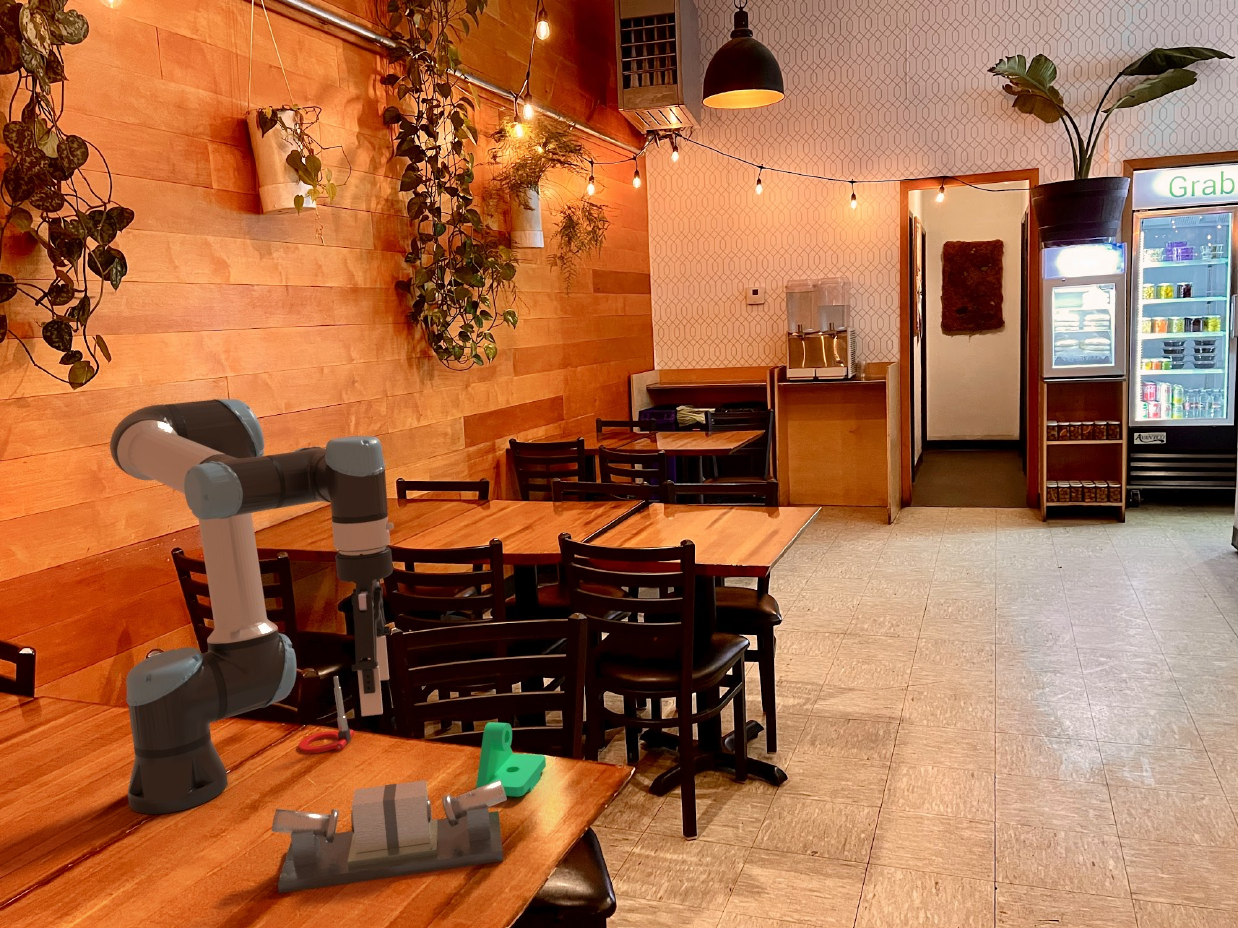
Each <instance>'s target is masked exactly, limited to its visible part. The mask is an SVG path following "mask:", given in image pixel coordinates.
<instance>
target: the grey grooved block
mask: <svg viewBox="0 0 1238 928" xmlns="http://www.w3.org/2000/svg"><path fill="white" fill-rule="evenodd" d="M350 814H351V817H350V818H351V819H350V821H351V831H353V833H355V843H356V853H360V852H368V851H375V850H382V849H393V848H399V847H404V846H411V845H418V844H425V843H430V823H432V820H433V819H432V818H433V816H432V815H433V814H432V802H431V799H430V798H429V797H428V786H427V780H417V781H411V782H401V783H391V784H385V785H379V786H373V787H372V786H371V787H363V788H357V789H354V793H353V797H352V803H351V813H350Z"/></svg>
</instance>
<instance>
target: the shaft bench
mask: <svg viewBox="0 0 1238 928" xmlns="http://www.w3.org/2000/svg"><path fill="white" fill-rule="evenodd" d="M507 797H508V796H506V794H505V790H504V787H503V785H502V782H501V780H497V781H495V782H492V783H490V784H487V785H485V786H482V787H480V788H477V787H476V788H474V789H472V790H470V791H467V792H464V793H462V794H460V795H459V794H458V796H454V797H452V795H451V794H450V793H448V794H446V795H442V797H441V801H442V807H443V810H444V811H443V812H444V813H445V816H446V818H445V817H444V818H434V819H432V823H430V843H425V844H418V845H411V846H404V847H399V848H393V849H382V850H375V851H368V852H360V853H356V843H355V833H353V831H352V830H349V831H343V832H336V830H337V826H338V820H339V814H340V810H339V809H334V808H333V809H331V812H330V814H328V813H326V814H325V813H318V812H309V811H300V810H293V809H292V810H291V809H281V808H276V809H275V812H274V815H273V820H272V825H271V833H272V832H273V833H282V834H289V835H290V839H291V840H290V843H289V847H288V850H287V853H286V856H285V859H284V863H283V866H282V868H281V873H280V875H279V877H278V882H277V886H278V887H277V888H278V893H279V894H285V893H290V892H291V893H292V892H298V891H304V890H310V889H317V888H325V887H331V886H333V887H334V886H340V885H345V884H352V883H353V884H354V883H359V882H366V881H367V882H368V881H374V880H380V879H381V880H382V879H387V878H394V877H401V876H408V875H415V874H416V875H417V874H423V873H428V872H436V871H443V870H451V869H457V868H462V867H464V868H465V867H471V866H477V865H484V864H493V863H499V862H504V853H503V852H504V849H503V843H502V842H503V841H502V832H501V824H500V823H501V821H500V812H499V810H496V811H489V807H492V806H495V805H498V804H501V803H502V802H505V801H507V799H508V798H507Z"/></svg>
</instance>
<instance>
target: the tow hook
mask: <svg viewBox="0 0 1238 928" xmlns="http://www.w3.org/2000/svg"><path fill="white" fill-rule="evenodd" d="M333 684H334V688H333V690H334V696H335V697H334V698H335V703H336V710H337V711H336V712H337V718H336V720H337V727H338V730H336V731H335V730H331V731H330V730H329V731H323V732H318V733H315V734H311V735H309V736H307V737H305V738H303V739H302V740H301V741H300V742H298V750H299V751H300V752H302V753H304V754H317V753H318V754H319V753H324V752H328V751H332V750H336V751H339V752H341V751H342V750H343V749H344V748H345V747H346V746H347V745H348V744H349V742H350V741H351V740H352V738H353V737H354V735H355V731H354V730H353V729H350V727H349V725H348V719H347V716H346V715H345V708H344V703H343V694H342V693H343V692H342V689H341V688H342V687H341V686H340V682H339V676H338V675H334V676H333ZM329 738H330V739H331V738H333V739H336V740H335V741H332V742H329V743H327V744H322V745H317V746H315V745H313V746H312V745H310V744H311V743H313V742H316V741H319V740H323V739H329Z"/></svg>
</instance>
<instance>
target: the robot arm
mask: <svg viewBox="0 0 1238 928" xmlns="http://www.w3.org/2000/svg"><path fill="white" fill-rule="evenodd" d="M116 425H117V426H115V428H114V430H113V431H112V435H111V437H110V440H109V442H110V443H109V450H110V454H111V457H112V460H113V462H114V463H115V465H116V466H117V467H118V468H119V469H120V470H121V471H122V472H124V473H125V474H127V475H129V476H131V477H133V478H135V479H137V480H141V481H157V482H159V483H161V484H163V485H165V486H167V487H168V488H171V489H173V490H175V491H177V492H180V493H182V494H184V497H185V500H186V504H187V506H188V508H189V509H190V511H191V513H192V514H193V516H194V517H195V518H197V519H198V525H199V532H200V538H201V545H202V552H203V558H204V559H203V560H204V565H205V571H206V572H205V573H206V578H207V584H208V585H207V586H208V591H209V598H210V604H211V611H212V618H213V625H214V629H213V631H212V632H211V633H210V635H209V636H208V637H207V639H206V642H207V648H208V649H207V652H203V653H202V652H201V651H200V649H198V648H196V647H191V646H190V647H189V646H187V647H180V648H178V649H174V648H173V649H169V650H165V651H162V652H159V653H155V654H154V655H151V656H149V657H147V658H145V659H142V660H141V661H139V662H138V663H137V664H135V665H134V666H133V667H132V668H131V669H130V670H129V672H128V674H127V675H126V699H125V700H126V703H127V706H128V711H129V719H130V720H129V721H130V727H131V733H132V734H131V735H132V743H133V749H134V750H133V751H134V761H133V767H132V769H131V775H130V779H129V784H128V789H127V799H128V806H129V808H130V809H131V810H133V811H135V812H136V813H140V814H145V815H159V814H160V815H162V814H163V815H164V814H168V813H176V812H181V811H185V810H188V809H191V808H194V807H196V806H199V805H203V804H205V803H206V802H209V801H210V800H213V799H214V798H216V797H217V796H219V795H220V794H222V793H223V792H224V790H225V789H226V788H227V787H228V774H227V768H226V767H225V765H224V762H223V761H222V759H221V757H220V755H219V753H218V751H217V749H216V747H215V745H214V743H213V741H212V736H211V724H212V723H215V722H217V721H220V720H221V721H222V720H224V719H227V718H230V717H234V716H237V715H241V714H243V713H247V712H251V711H253V710H256V709H259V708H261V709H264V708H267V707H268V706H270V705H272V704H275V703H278V702H280V701H282V700H285V699H286V698H287V697H288V696H289V694H291V692H292V689H293V687H294V686H295V682H296V678H297V659H296V658H297V657H296V653H295V649H294V648H292V647H293V643H292V642H291V641H292V640H290V638H289V637H288V636H287V635H286V634H283V633H279V628H278V626H277V625H276V623H274V622H272V620H271V621H270V620H269V619H268V617H267V611H266V610H267V609H266V603H265V595H264V589H263V583H262V576H261V568H260V563H259V561H260V560H259V556H258V549H257V542H256V541H257V540H256V535H255V528H254V521H253V516H252V515H253V513H258V512H259V513H260V512H264V511H270V510H275V509H283V508H289V507H293V506H301V505H305V504H312V503H319V502H325V503H328V504H329V503H330V509H331V528H332V538H333V548H334V549H335V550H336V551H337V553H336V554H335V557H334V558H335V566H336V577H337V579H338V580H340V581H342V582H344V583H345V582H346V583H350V582H351V583H354V584H355V588H353V589H352V592H351V596H350V598H351V599H350V601H351V604H352V607H353V608H352V614H353V615H352V616H353V617H352V618H353V624H354V626H353V627H354V647H355V648H354V651H355V652H354V653H355V655H354V656H355V657H354V658H355V663H354V664H351V671H352V672H355V671H357V676H358V677H357V678H358V689H359V699H360V711H361V717H367V716H375V715H376V716H377V715H383V712H384V711H383V710H384V709H383V700H382V698H383V697H382V690H381V689H382V686H381V681H388V680H389V679H390V675H389V662H388V651H387V638H386V637H387V636H386V635H388V634H390V633H391V628H390V625H387V626H386V623H387V622H386V619H385V613H384V599H383V595H384V594H383V593H384V592H383V591H384V590H383V586H382V585H380V584H381V583H380V580H382V579H385V578H387V577H389V576H390V575H392V574H393V571H394V567H393V566H394V565H393V556H392V549H391V548H390V547H389V546H388V545H389V544H390V543H391V536H390V535H391V534H390V530H394V527H395V525H394V523H393V522H388V521H389V514H388V513H389V512H388V510H389V508H388V507H389V506H388V494H387V481H386V480H387V478H386V461H385V460H384V455H383V447H382V446H383V445H382V442H381V441H380V439H379V438H378V437H375V436H373V435H372V436H371V435H370V436H369V435H362V436H361V435H358V436H344V437H336V438H332V439H330V440H329V441H327V443H326V446H325V447H320V446H310V447H301V448H298V449H295V450H294V451H291V452H284V453H276V454H270V455H269V454H268V455H264V449H265V440H264V433H263V429H262V426H261V424H260V422H259V420H258V417H257V416H256V414H255V412H254V411H253V409H251V407H250V406H249V405H248V404H247V403H246V402H244V401H243V400H240V399H235V398H233V399H232V398H231V399H230V398H229V399H228V398H224V399H223V398H222V399H221V398H218V399H217V398H213V399H209V400H208V399H207V400H199V401H198V400H196V401H187V402H179V403H178V402H177V403H167V404H166V403H165V404H154V405H153V404H152V405H148V406H145V407H142V408H139V409H137V410H135V411H133V412H131V413H130V414H128V415H127V416H126V417H124V418H123V419H122V420H121V421H120V422H119V423H118V424H116Z"/></svg>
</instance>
